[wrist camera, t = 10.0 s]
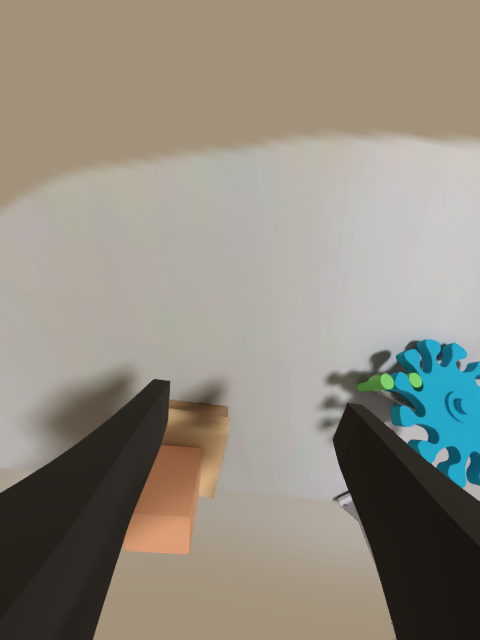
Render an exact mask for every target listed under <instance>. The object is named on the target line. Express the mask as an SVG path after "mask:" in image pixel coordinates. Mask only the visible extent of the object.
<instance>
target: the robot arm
mask: <svg viewBox="0 0 480 640" xmlns="http://www.w3.org/2000/svg"><path fill="white" fill-rule="evenodd" d="M169 394H170V381H166V380H158V379H154V380H153V381H151V382H150V383H149V384H148V385H147V386H146V387H145V388H144V389H143V390H142V391H141V392H139V393H138V394H137V395H136V396H135V397H134V398H133V399H132V400H131V401H130V402H128V403H127V404H126V405H125V406H124V407H123V408H121V409H120V410H119V411H118V412H117V413H116V414H115V415H113V416H112V417H111V418H110V419H109V420H107V421H106V422H105V423H103V424H102V425H101V426H100V427H98V428H97V429H96V430H95V431H93V432H92V433H91V434H89V435H88V436H87V437H85V438H84V439H83V440H81V441H80V442H79V443H77V444H76V445H75V446H73V447H72V448H70V449H69V450H67V451H66V452H65V453H63V454H62V455H60V456H59V457H57V458H56V459H54V460H53V461H51V462H50V463H48V464H47V465H45V466H43V467H42V468H40V469H39V470H37V471H36V472H34V473H32V474H31V475H29V476H28V477H26V478H24V479H23V480H21V481H20V482H18V483H17V484H15V485H13V486H11V487H10V488H8V489H6V490H5V491H3V492H1V493H0V640H93V637H94V634H95V630H96V627H97V624H98V620H99V617H100V614H101V610H102V607H103V604H104V601H105V598H106V594H107V591H108V588H109V585H110V582H111V578H112V575H113V572H114V569H115V566H116V563H117V560H118V557H119V554H120V550H121V547H122V544H123V541H124V538H125V535H126V532H127V529H128V526H129V523H130V521H131V518H132V515H133V513H134V510H135V508H136V505H137V503H138V500H139V498H140V496H141V493H142V491H143V488H144V486H145V483H146V481H147V479H148V476H149V474H150V471H151V469H152V466H153V464H154V462H155V459H156V457H157V454H158V452H159V449H160V447H161V444H162V440H163V437H164V434H165V430H166V427H167V423H168V416H169ZM333 443H334V447H335V452H336V456H337V459H338V463H339V466H340V469H341V472H342V474H343V477H344V480H345V482H346V485H347V488H348V490H349V493H348V494H346V495H344V496H342V497H340V498H338V500H337V501H338V504H339V505H340V506H341V507H343V508H344V509H345V510H346V511H347V512H348V513H349V514H350V515H352V516H353V517H354V518H355V519H356V520H357V521H358V522H359V524H360V527H361V529H362V532H363V534H364V537H365V540H366V542H367V545H368V548H369V550H370V553H371V555H372V558H373V561H374V563H375V566H376V569H377V571H378V574H379V577H380V581H381V584H382V587H383V591H384V595H385V598H386V602H387V605H388V609H389V613H390V616H391V620H392V623H391V624H392V626H393V629H394V632H395V635H396V638H394V639H393V640H480V501H478V500H477V499H476V498H474V497H473V496H472V495H470V494H469V493H467V492H466V491H465V490H463V489H462V488H461V487H460V486H458V485H457V484H456V483H454V482H453V481H452V480H450V479H449V478H448V477H447V476H445V475H444V474H443V473H442V472H441V471H439V470H438V469H437V468H436V467H434V466H433V465H432V464H431V463H429V462H428V461H427V460H426V459H425V458H423V457H422V456H421V455H420V454H419V453H417V452H416V451H415V450H414V449H413V448H412V447H410V446H409V445H408V444H407V443H406V442H405V441H403V440H402V439H401V438H400V437H399V436H398V435H397V434H395V433H394V432H393V431H392V430H391V429H390V428H389V427H388V426H386V425H385V424H384V423H383V422H382V421H381V420H380V419H378V418H377V417H376V416H375V415H374V414H373V413H371V412H370V411H369V410H368V409H366V408H365V407H364V406H363V405H358V404H350V403H347V406H346V408H345V411H344V413H343V416H342V418H341V420H340V423H339V425H338V428H337V430H336V433H335V435H334V437H333Z"/></svg>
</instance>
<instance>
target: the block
mask: <svg viewBox="0 0 480 640" xmlns="http://www.w3.org/2000/svg"><path fill="white" fill-rule="evenodd" d="M200 475H201V448H200V447H185V446H170V445H161V447H160V449H159V452H158V454H157V457H156V459H155V462H154V464H153V466H152V469H151V471H150V474H149V476H148V479H147V481H146V483H145V486H144V488H143V491H142V493H141V496H140V498H139V500H138V503H137V505H136V508H135V510H134V513H133V515H132V518H131V521H130V523H129V526H128V529H127V532H126V535H125V538H124V541H123V542H124V547H125V551H141V552H157V553H176V554H189V552H190V546H191V539H192V533H193V526H194V520H195V513H196V507H197V501H198V494H199V488H200Z"/></svg>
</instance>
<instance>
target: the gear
mask: <svg viewBox="0 0 480 640" xmlns="http://www.w3.org/2000/svg"><path fill="white" fill-rule="evenodd" d="M417 349H418V351H419V353H420V355H421V357H422V361H423V371H422V370H421V368H420V355H419V353H418V352H417V351H416V350H415V349H411V350H408V351H405V352H401V353H399V354H398V355H396V359H397V361H398V363H399V364H400V365H402V366H403V367H404V368H405V369H406V371H407V372H408V373H409V374H405V373H403V372H396V373H392V374H391V375H389V374H388V373H384V372H382V373H378V374H374V375H373V376H372V377H370V378H369V379H368V382H362V383H358V384H357V386H356V387H357V390H358V391H360V392H363V391H370V390H373V391H374V392H375V393H377V394H378V395H381V396H383V397H385V398H387V399H389V400H392V401H394V402H396V404H395V406H393V407H391V419H392V423H393V424H394V425H396V426H403V427H410V426H412V425H415V424H416V425H419V426H421V427H423V428H424V429H425V430H426V431H427V433H428V441H422V440H410V441H409V442H408V445H409V446H410V447H412V448H413V449H414V450H415V451H416V452H417V453H419V454H420V455H421V456H422V457H423V458H425V459H426V460H427V461H428V462H429V463H432V462H433V461H434V460H435V457H436V455H437V453H438V452H439V451H440V450H441V449H443V448H445V447H446V449H447V450H448V453H449V458H448V460H447V461H445V462H441V463H439V464H438V465H437V469H438V470H439V471H441V472H442V473H443V474H444V475H445V476H447V477H448V478H449V479H450V480H452V481H453V482H454V483H456V484H457V485H458V486H460V487H462V488H463V487H465V485H466V475H467V479H468V481H469V482H470V483H472V484H475V485H479V486H480V387H479V386H478V385H477V383H476V381H475V379H480V361H479V362H474V363H469V364H468V365H467V367H466V369H465V370H464V371H463V372H461V371H460V370H459V369H458V368H457V365H456V362H457V360H460V359H464V358H466V356H467V352H466V351H465V350H464V349H463V348H462V347H461V346H459V345H458V344H456V343H452V344H448V345H445V346H443V348H442V353H443V358H442V362H441V364H440V365H439V364H438V362H437V360H436V357H437V355H438V354H439V352H440V351H441V346H440V344H439V342H437V341H434V340H423V341H420V342H417ZM469 456H470V459H471V463H470V465H469V467H468V468H467V472H466V473H465V467H466V462H467V459H468V457H469Z"/></svg>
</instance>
